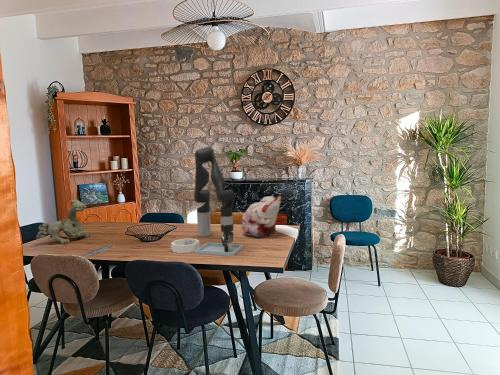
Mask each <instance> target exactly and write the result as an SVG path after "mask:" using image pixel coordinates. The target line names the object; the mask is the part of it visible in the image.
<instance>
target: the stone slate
mask: <svg viewBox="0 0 500 375" xmlns="http://www.w3.org/2000/svg"><path fill="white" fill-rule="evenodd" d="M187 239H188V240H185V245H189V244H192V240H190V239H191V238H187Z"/></svg>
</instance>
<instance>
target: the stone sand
mask: <svg viewBox="0 0 500 375" xmlns="http://www.w3.org/2000/svg"><path fill="white" fill-rule="evenodd" d="M231 244H232V243H231V242H228V252H231V251H232V247H231ZM224 252H225V251H224Z"/></svg>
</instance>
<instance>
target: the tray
mask: <svg viewBox="0 0 500 375" xmlns="http://www.w3.org/2000/svg"><path fill="white" fill-rule="evenodd" d="M231 247H232V251H231V252H224V246H223V245H222V242H219V243H218V242H206V243H204V244H202V245H201V246H200V248H198V249H196V250H195V251H194V254H196V255H207V256H208V255H210V256H223V257H234V256H236V255H237V253H239V252H240V251H241V250H242V249H244V244H237V243H236V244H235V243H231Z"/></svg>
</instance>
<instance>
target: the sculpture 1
mask: <svg viewBox="0 0 500 375" xmlns="http://www.w3.org/2000/svg"><path fill="white" fill-rule="evenodd" d="M70 203H71V207H70V208H69V209H68V212H67V218H66V219H65V218H64V219H62V220H57V221H53V222H50V221H49V222H44V223H42V224H40V225H39V226H38V230H39V231H38V232H37V234H36V236H35V238H36V239H40V238H45V237H46V236H47V235H49V237H48V241H49V242H55V241H58V242H59V243H60V244H61V245H62V244H69V243H70V242H71V240H70V239H80V238H81V239H82V238H84V239H85V238H89V237H91V234H90V233H87V232H86V231H84V225H83V223H82V221H81V220H79V219H78V217H77V212H83V211H85V209H86V208H87V205H86V204H85V203H83V202H81V201H80V200H78V198H74V199H71V200H70ZM61 231H62V232H63V233H64V234H65V235H66V236H63V235H60V232H61ZM69 238H70V239H69Z"/></svg>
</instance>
